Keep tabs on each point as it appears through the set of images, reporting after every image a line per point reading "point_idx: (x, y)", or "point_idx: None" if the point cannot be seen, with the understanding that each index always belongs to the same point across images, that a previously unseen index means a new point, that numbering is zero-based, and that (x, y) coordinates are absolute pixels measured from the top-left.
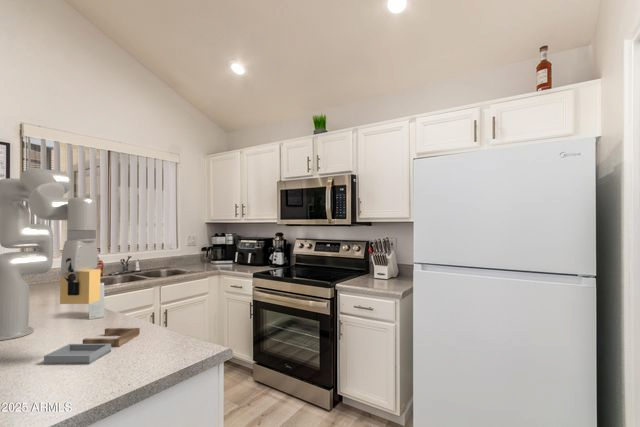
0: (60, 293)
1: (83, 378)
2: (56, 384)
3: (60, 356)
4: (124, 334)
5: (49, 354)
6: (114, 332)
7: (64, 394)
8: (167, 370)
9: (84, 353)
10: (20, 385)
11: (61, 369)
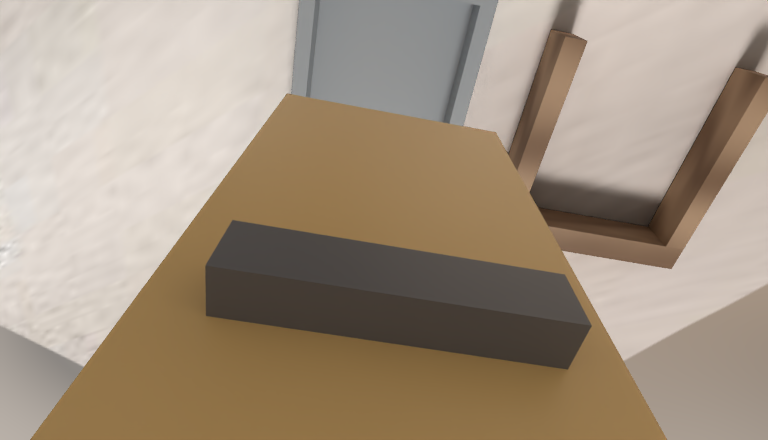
0: (248, 150)
1: (160, 222)
2: (105, 153)
3: (294, 56)
4: (575, 234)
5: None
6: (714, 134)
7: (43, 220)
8: None
9: (404, 112)
10: (77, 3)
11: (242, 90)
